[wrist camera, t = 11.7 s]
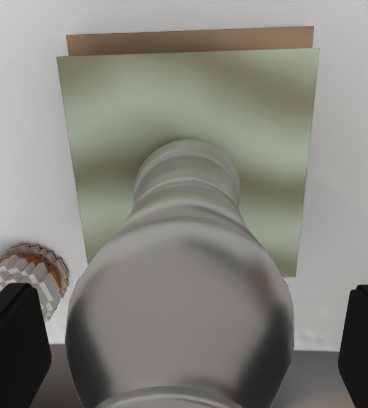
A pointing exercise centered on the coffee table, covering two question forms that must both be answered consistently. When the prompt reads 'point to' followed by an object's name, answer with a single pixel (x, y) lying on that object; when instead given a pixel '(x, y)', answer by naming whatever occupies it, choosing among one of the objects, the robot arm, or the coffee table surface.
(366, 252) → the coffee table surface
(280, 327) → the plastic bottle
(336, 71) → the coffee table surface
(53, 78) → the coffee table surface
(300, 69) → the walnut stand
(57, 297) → the decorative ornament
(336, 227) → the coffee table surface
